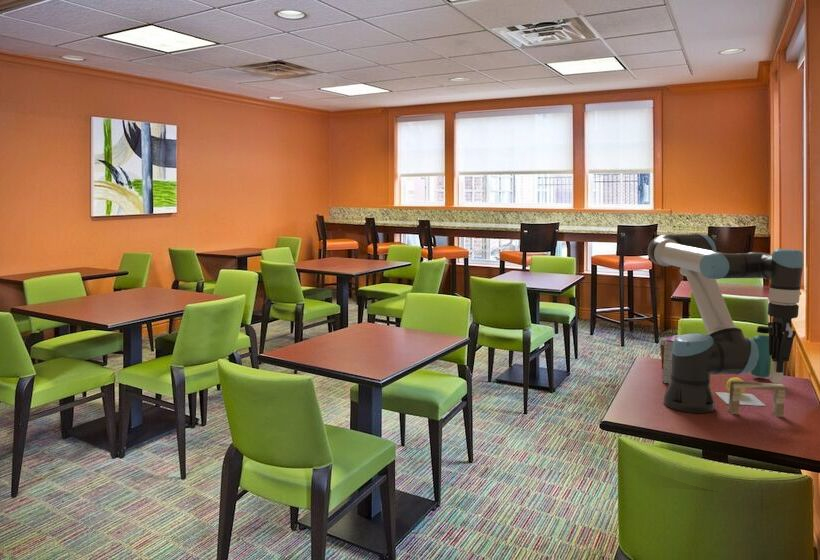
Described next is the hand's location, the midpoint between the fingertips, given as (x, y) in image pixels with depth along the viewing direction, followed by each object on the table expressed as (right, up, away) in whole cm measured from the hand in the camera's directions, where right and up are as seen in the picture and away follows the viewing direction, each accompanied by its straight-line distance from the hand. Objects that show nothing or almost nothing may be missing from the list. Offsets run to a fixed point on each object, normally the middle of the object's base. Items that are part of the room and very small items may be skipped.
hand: (776, 382), depth 178 cm
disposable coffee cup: (-3, -6, +65) cm, 65 cm away
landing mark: (+5, -11, +28) cm, 31 cm away
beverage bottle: (+25, -8, +52) cm, 58 cm away
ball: (+6, -7, +33) cm, 34 cm away
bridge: (+2, -12, +15) cm, 19 cm away
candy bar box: (-9, -8, +49) cm, 50 cm away
